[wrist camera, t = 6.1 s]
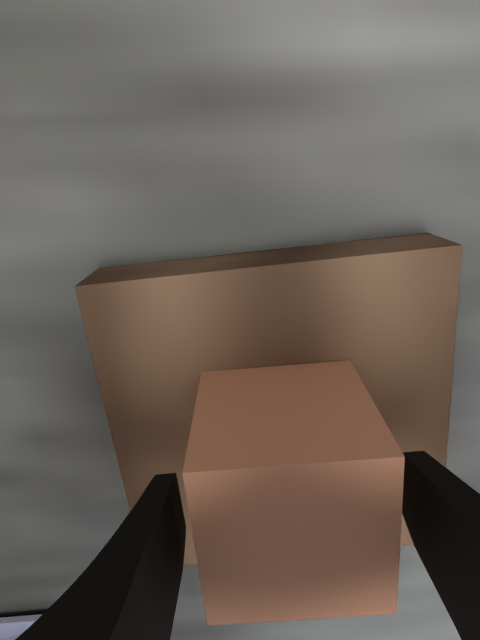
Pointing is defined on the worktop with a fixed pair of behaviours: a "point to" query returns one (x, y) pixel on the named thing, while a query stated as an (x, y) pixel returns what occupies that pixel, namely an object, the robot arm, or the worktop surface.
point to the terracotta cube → (293, 495)
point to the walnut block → (272, 339)
